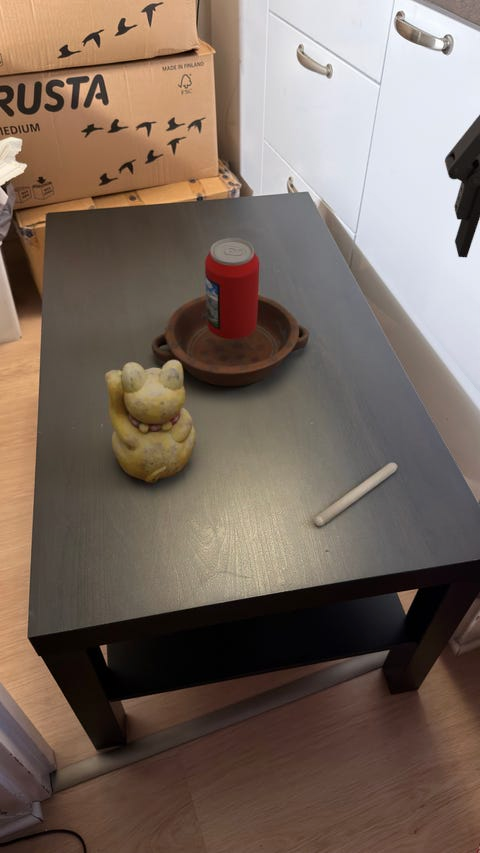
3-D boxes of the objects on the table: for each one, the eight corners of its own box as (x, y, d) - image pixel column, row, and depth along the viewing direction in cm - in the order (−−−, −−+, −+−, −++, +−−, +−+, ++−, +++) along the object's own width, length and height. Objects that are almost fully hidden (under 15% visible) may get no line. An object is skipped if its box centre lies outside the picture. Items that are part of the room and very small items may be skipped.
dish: (322, 390, 84) (327, 362, 80) (158, 408, 81) (155, 380, 77) (293, 310, 95) (296, 283, 92) (149, 324, 92) (145, 296, 89)
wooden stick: (398, 471, 75) (400, 464, 74) (319, 530, 69) (320, 524, 68) (390, 465, 75) (392, 458, 74) (311, 522, 70) (312, 516, 69)
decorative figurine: (191, 433, 78) (185, 341, 67) (203, 484, 73) (199, 394, 62) (114, 445, 77) (95, 352, 66) (120, 498, 71) (100, 408, 60)
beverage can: (211, 310, 87) (209, 232, 78) (259, 314, 86) (263, 237, 77) (202, 341, 82) (199, 263, 74) (253, 346, 82) (256, 268, 73)
